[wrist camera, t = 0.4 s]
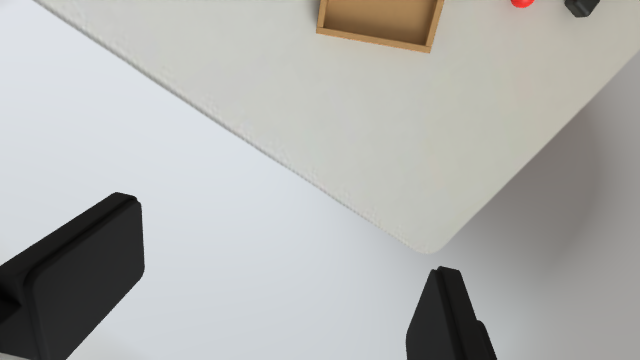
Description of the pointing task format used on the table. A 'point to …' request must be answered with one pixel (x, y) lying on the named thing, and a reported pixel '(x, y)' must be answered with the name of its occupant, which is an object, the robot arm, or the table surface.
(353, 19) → the tray
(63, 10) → the table surface
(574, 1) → the toy gun
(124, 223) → the robot arm
